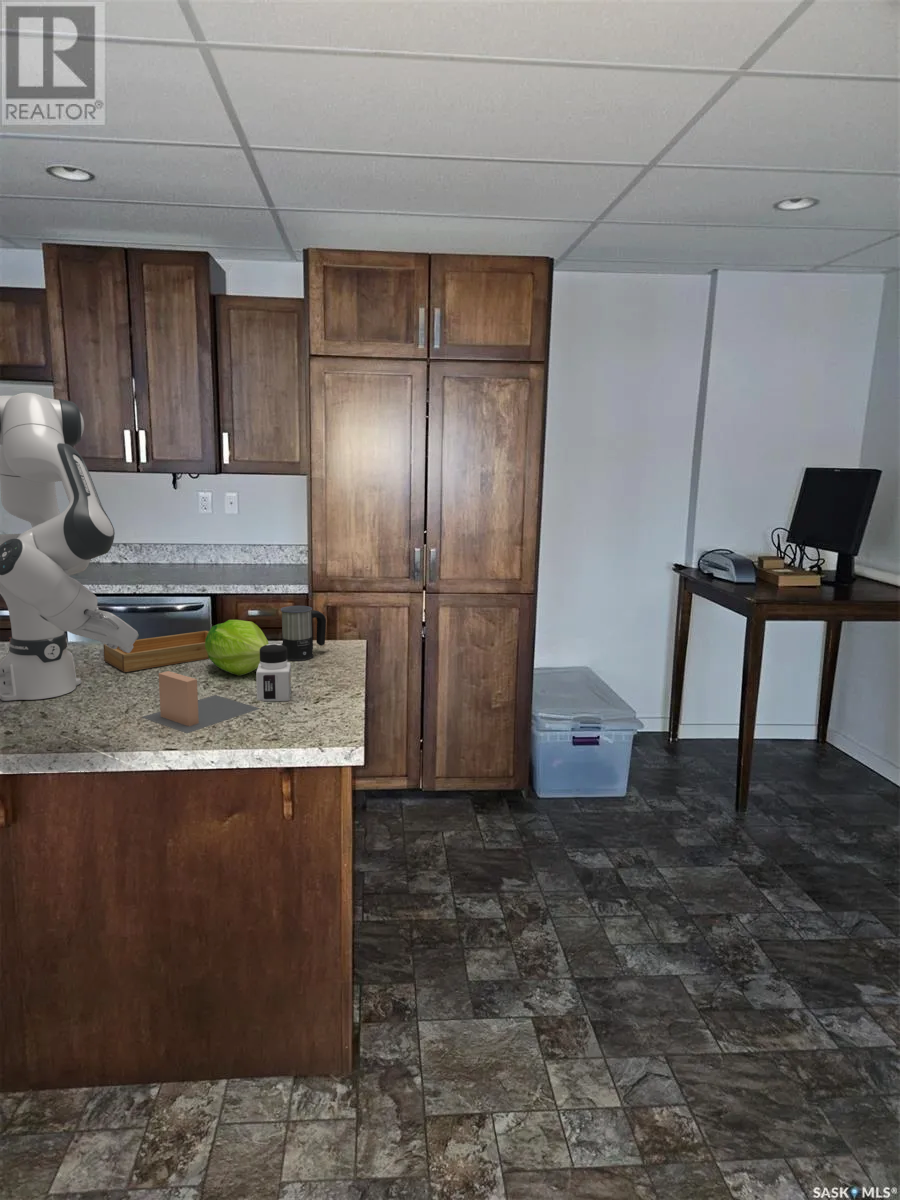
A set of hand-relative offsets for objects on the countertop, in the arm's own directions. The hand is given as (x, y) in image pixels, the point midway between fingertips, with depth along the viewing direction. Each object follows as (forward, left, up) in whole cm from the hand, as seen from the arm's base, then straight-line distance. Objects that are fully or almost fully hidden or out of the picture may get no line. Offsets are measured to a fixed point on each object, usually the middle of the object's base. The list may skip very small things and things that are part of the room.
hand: (122, 647), depth 148 cm
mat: (0, +18, -19) cm, 27 cm away
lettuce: (-21, +46, -20) cm, 55 cm away
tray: (-47, +43, -20) cm, 67 cm away
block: (0, +12, -19) cm, 23 cm away
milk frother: (-23, +69, -20) cm, 76 cm away
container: (+3, +37, -20) cm, 42 cm away
